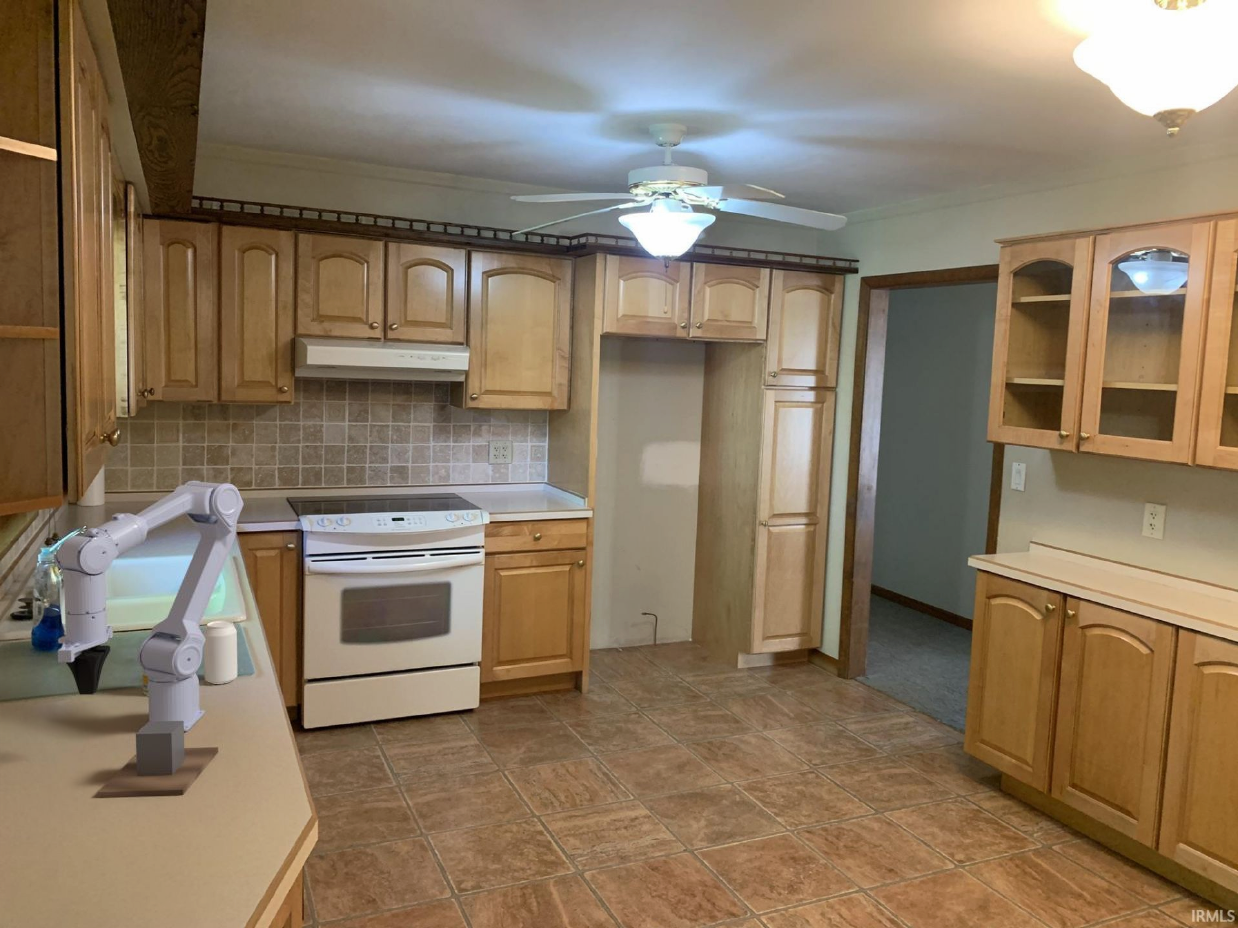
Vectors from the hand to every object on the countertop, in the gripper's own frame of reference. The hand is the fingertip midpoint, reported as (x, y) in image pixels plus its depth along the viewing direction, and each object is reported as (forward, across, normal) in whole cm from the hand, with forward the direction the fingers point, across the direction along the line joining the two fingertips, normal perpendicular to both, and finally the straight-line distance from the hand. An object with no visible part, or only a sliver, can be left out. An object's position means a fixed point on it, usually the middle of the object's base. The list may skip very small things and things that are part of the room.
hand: (88, 693), depth 149 cm
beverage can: (+10, -37, +9) cm, 40 cm away
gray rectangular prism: (+10, +8, +14) cm, 19 cm away
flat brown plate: (+10, +8, +14) cm, 19 cm away
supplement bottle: (+10, -31, -1) cm, 33 cm away
